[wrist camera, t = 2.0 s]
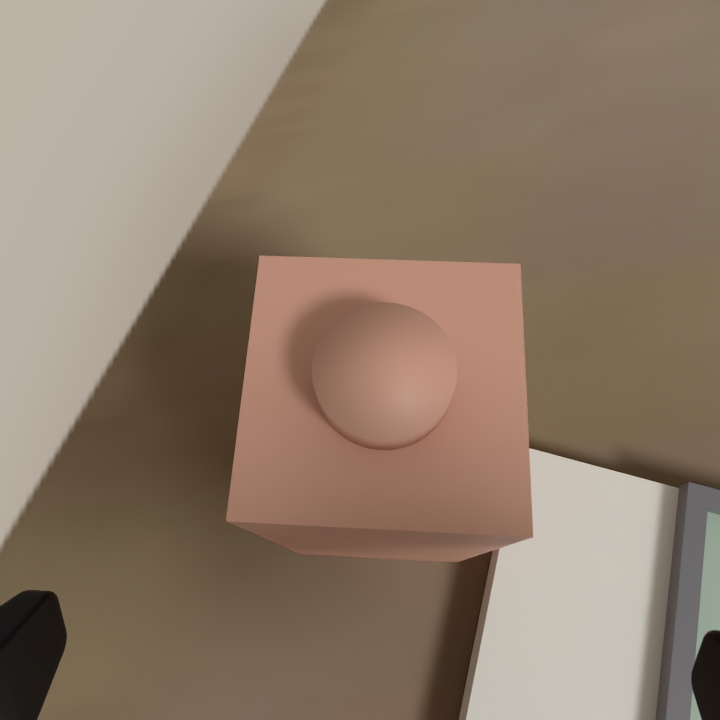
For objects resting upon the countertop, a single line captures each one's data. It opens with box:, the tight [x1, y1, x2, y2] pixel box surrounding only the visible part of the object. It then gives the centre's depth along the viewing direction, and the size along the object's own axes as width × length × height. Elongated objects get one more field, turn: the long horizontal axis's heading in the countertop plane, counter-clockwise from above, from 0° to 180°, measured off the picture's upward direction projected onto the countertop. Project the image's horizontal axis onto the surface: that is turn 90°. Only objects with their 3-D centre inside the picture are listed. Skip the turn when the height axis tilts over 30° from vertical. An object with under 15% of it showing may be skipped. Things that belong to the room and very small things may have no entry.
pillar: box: [226, 256, 533, 562], centre depth 15 cm, size 5×5×11 cm
